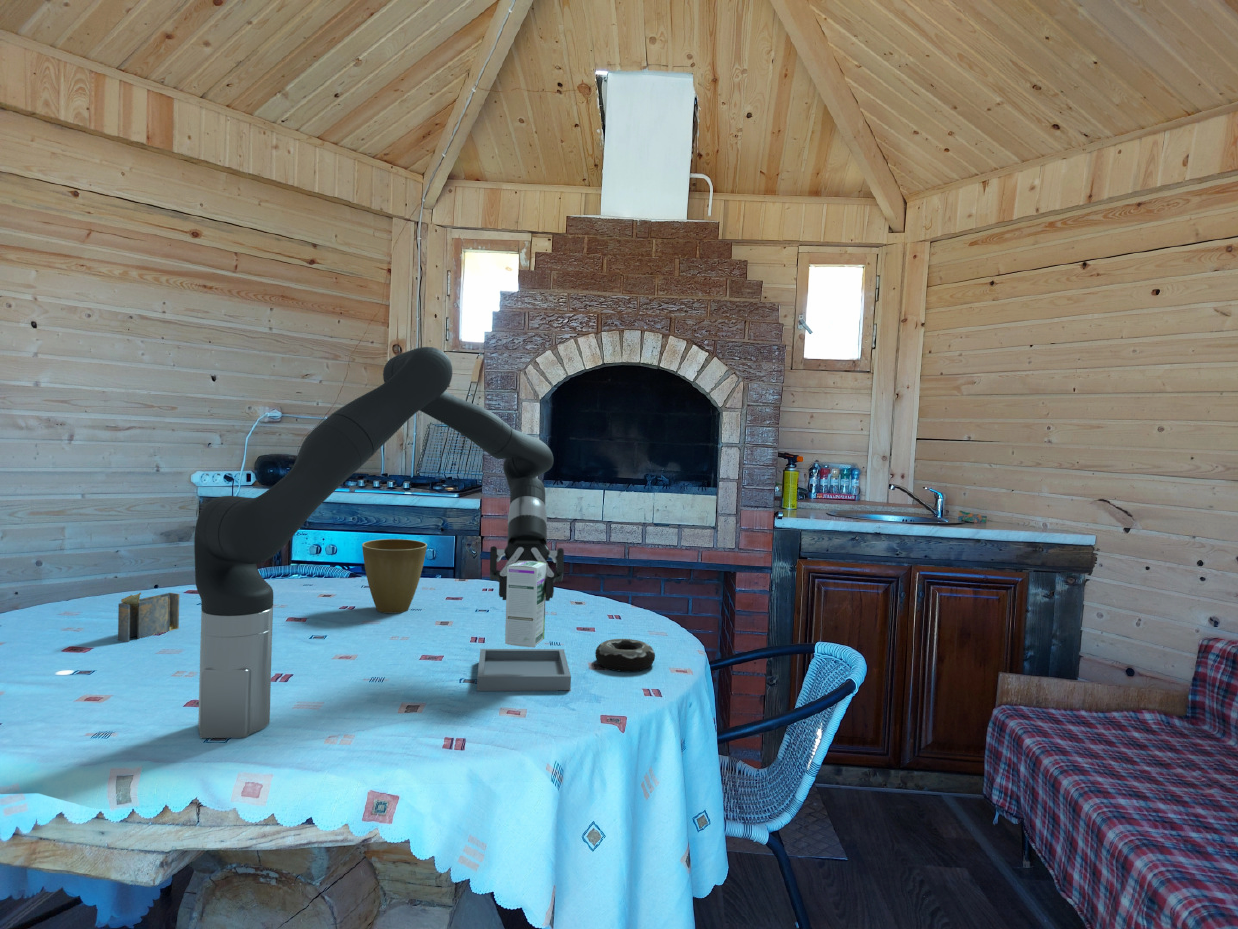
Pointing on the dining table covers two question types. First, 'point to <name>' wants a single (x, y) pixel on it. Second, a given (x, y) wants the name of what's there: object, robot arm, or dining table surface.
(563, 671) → the tray
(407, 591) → the plant pot
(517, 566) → the syrup box
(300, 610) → the dining table surface
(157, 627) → the weathered flanged block
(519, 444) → the robot arm
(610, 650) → the donut
